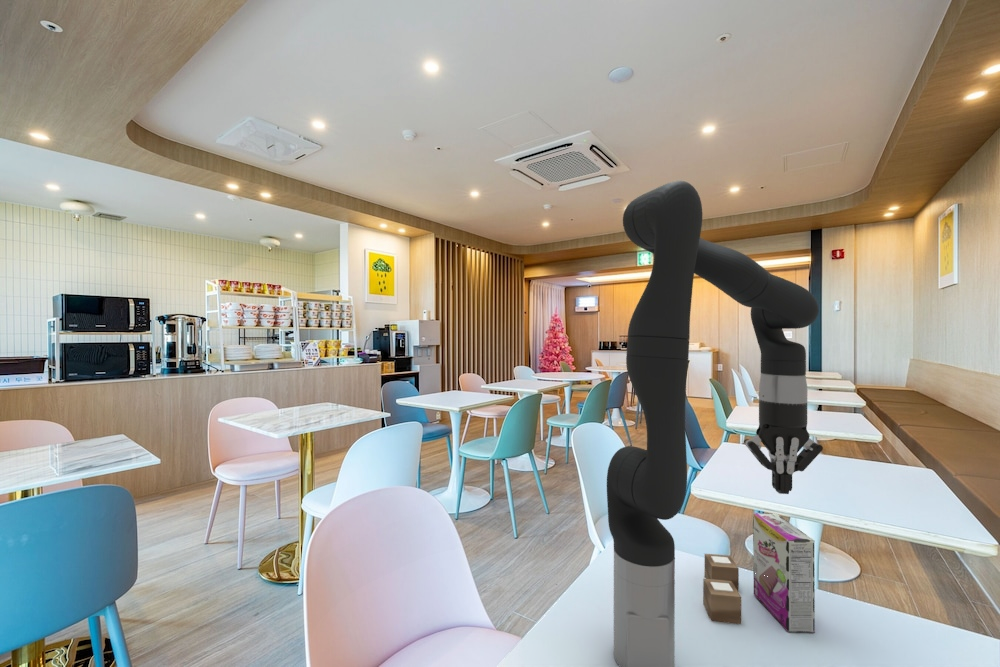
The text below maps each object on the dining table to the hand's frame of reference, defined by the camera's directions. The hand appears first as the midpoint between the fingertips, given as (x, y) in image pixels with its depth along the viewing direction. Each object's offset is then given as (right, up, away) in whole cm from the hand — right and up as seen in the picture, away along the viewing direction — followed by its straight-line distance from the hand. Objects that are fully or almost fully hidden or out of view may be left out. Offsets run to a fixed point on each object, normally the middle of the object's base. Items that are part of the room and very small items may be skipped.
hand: (782, 492), depth 81 cm
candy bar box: (0, -23, 0) cm, 23 cm away
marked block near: (-11, -23, 0) cm, 25 cm away
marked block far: (-6, -23, +9) cm, 25 cm away
